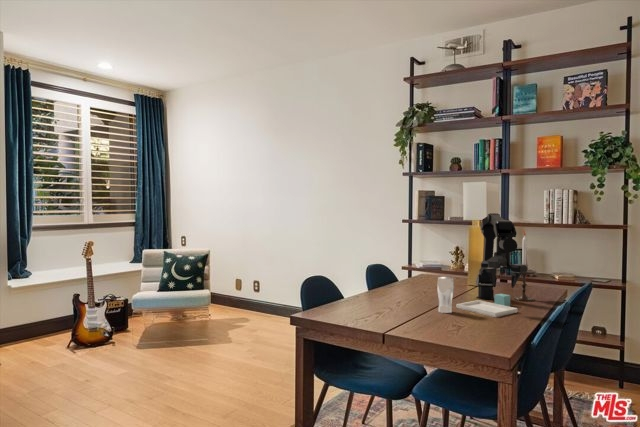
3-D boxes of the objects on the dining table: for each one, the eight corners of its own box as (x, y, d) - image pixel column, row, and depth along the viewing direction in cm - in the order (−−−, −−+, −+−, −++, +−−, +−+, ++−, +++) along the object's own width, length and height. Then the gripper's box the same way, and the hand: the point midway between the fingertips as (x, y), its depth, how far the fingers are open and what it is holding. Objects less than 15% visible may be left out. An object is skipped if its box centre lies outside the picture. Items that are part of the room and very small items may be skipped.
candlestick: (512, 300, 221) (513, 229, 220) (511, 296, 231) (512, 228, 230) (536, 302, 217) (537, 230, 216) (535, 298, 227) (536, 229, 226)
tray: (456, 308, 204) (456, 304, 204) (478, 303, 213) (478, 300, 213) (495, 317, 188) (495, 313, 188) (517, 312, 197) (517, 308, 197)
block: (494, 305, 211) (494, 294, 211) (500, 303, 214) (500, 293, 214) (503, 307, 207) (504, 296, 207) (510, 305, 210) (510, 295, 210)
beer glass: (453, 310, 199) (454, 276, 199) (453, 314, 192) (453, 279, 192) (437, 309, 201) (438, 276, 201) (436, 312, 195) (436, 278, 194)
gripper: (473, 249, 196) (472, 284, 197) (512, 252, 181) (511, 291, 181) (488, 247, 203) (488, 282, 203) (528, 251, 187) (527, 288, 188)
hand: (502, 286), depth 193 cm, fingers open, 9 cm apart
